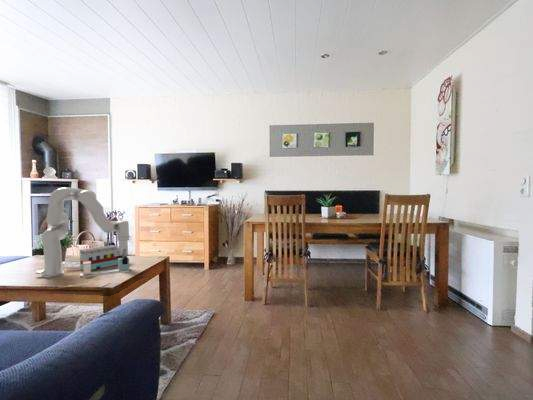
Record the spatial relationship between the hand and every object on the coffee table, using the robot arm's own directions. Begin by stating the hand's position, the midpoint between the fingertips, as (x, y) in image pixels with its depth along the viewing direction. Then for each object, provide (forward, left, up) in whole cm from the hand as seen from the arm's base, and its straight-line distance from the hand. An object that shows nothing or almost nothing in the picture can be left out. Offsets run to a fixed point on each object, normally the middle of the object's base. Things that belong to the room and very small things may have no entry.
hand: (124, 262), depth 212 cm
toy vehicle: (-10, +20, -6) cm, 23 cm away
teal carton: (0, 0, -5) cm, 5 cm away
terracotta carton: (-22, 0, -5) cm, 23 cm away
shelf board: (-11, 0, -6) cm, 13 cm away
